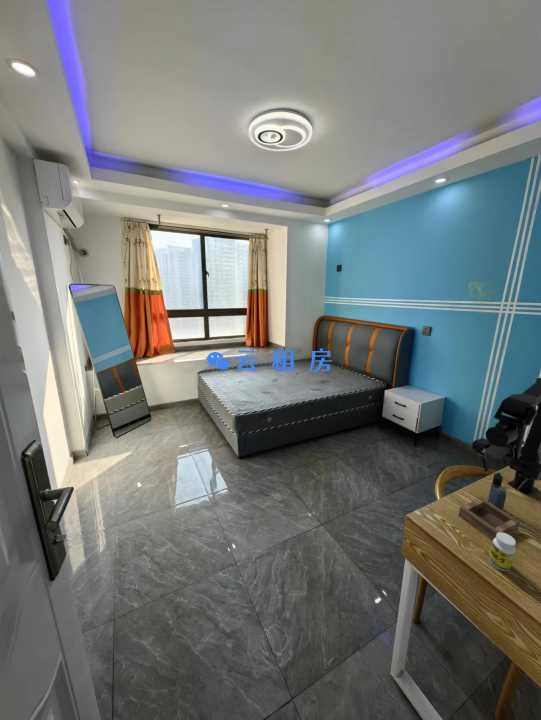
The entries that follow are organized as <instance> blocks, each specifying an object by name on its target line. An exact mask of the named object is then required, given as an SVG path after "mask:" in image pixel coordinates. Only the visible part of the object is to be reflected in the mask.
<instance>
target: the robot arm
mask: <svg viewBox="0 0 541 720" xmlns="http://www.w3.org/2000/svg"><path fill="white" fill-rule="evenodd" d="M493 419H496V420H498V422H497V423H495V425H493V426H491V427H489V428H487V430H486V431H485V438H484V437H482V438H478V439H475V440H472V443H471V445H470V448H471V449H472V450H474V452H475V453H477V454H478V455H479V456H480V458H481V461H482V466H483V469H484V472H485V473H487V472H488V471H489V469H490V468H491V464H494V465H495V466H496V467H503V466H505V465H506V466H508V467H509V469H511V470H513V471H515V472H514V477H513V479H512V480H510V481H508V482H507V484H508V485H509V486H511V487H513V488H514V489H516V490H517V491H519V492H522V493H523V494H526V495H530V494H533V493H536V492H537V491H538V490H539V488H537V487H536V486H535V484H536V481H537V482H539V481H541V377H538V378H537V379H536V380H535V382H534V383H533V384H532V385H530V386H529V387H528V388H526V389H525V390H524V391H523V392H522V393H513V394H511V395H509V396H506V397H505V398H504V399H503V400H502V401H501V403H500V405H499V406H498V408H497V410H496V412H495V414H494V416H493ZM528 426H530V427H529V430H528V433H527V436H526V439H525V433H526V431H527V427H528ZM524 439H525V441H524Z"/></svg>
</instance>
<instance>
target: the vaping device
mask: <svg viewBox="0 0 541 720" xmlns="http://www.w3.org/2000/svg"><path fill="white" fill-rule="evenodd" d="M503 479H504V477H503V476H502V473H500V472H496V473H495V474H494V475H493V478H492V482H491V485H490V489H489V493H488V494H489V495H488V498H487V501H488V502H489V503H491V504H493V505H494V506H496V507H497V508H499V509H500V510H502V511H503V510H504V506H505V503H506V498H507V492H506V491H507V490H506V488H504V487H502V484H503V481H504V480H503Z"/></svg>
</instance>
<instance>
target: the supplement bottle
mask: <svg viewBox="0 0 541 720" xmlns="http://www.w3.org/2000/svg"><path fill="white" fill-rule="evenodd" d="M516 544H517V542H516V539H515V538H513V536H511V534H509V535H508V534H506V533H503V532H499V533H497V535H496V538H494V539H493V540H492V543H491V547H490V550H489V553H488V554H489V555H488V560H489V562H490V563H491V565H493V566H494V567H495V568H497V569H498V570H500V571H503V572H509V571H510V570H512V566H513V563H514V559H515V555H516V553H517V552H516V550H517V549H516Z"/></svg>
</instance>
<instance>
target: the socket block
mask: <svg viewBox="0 0 541 720" xmlns="http://www.w3.org/2000/svg"><path fill="white" fill-rule="evenodd" d="M458 516H459V517H460V518H462V519H463V520H464V521H466V522H467V523H468V524H470V525H471V526H472V527H474V528H475V529H477V530H478V531H479V532H480V533H482V534H483V535H485V536H486V537H487V538H489V539H490V540H491V541H493V539H494V538H496V535H497V533H499V532H503V533H506V534H508V535H511V534H513V533H515V532H517V531H518V529H519V526H520V521H519V520H518V519H516V518H515V517H513V516H512V515H510V514H509V513H507V512H505V511H502V510H500V509H499V508H497V507H496V506H494V505H493V504H491V503H489V502H488V500H487V499H484V498H483V497H480V498H478V499H475V500H474V501H471V502H469V503H466V504H465V505H464V504H463V506H461V507H459V511H458Z"/></svg>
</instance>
